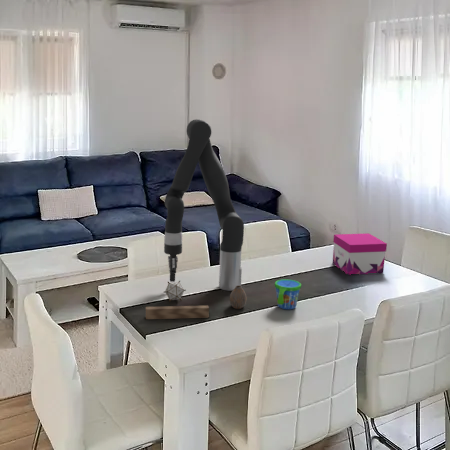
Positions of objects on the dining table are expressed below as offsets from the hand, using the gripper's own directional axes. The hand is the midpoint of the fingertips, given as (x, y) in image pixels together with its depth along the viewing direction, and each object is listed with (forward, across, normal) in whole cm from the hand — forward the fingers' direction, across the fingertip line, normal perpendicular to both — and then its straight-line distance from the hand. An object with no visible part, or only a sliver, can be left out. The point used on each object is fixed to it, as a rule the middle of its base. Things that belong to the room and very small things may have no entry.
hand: (172, 281), depth 263 cm
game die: (+5, -11, 0) cm, 12 cm away
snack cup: (+4, -21, -45) cm, 50 cm away
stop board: (+4, -29, 0) cm, 29 cm away
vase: (+4, -20, -25) cm, 33 cm away
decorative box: (+4, +27, -92) cm, 96 cm away
